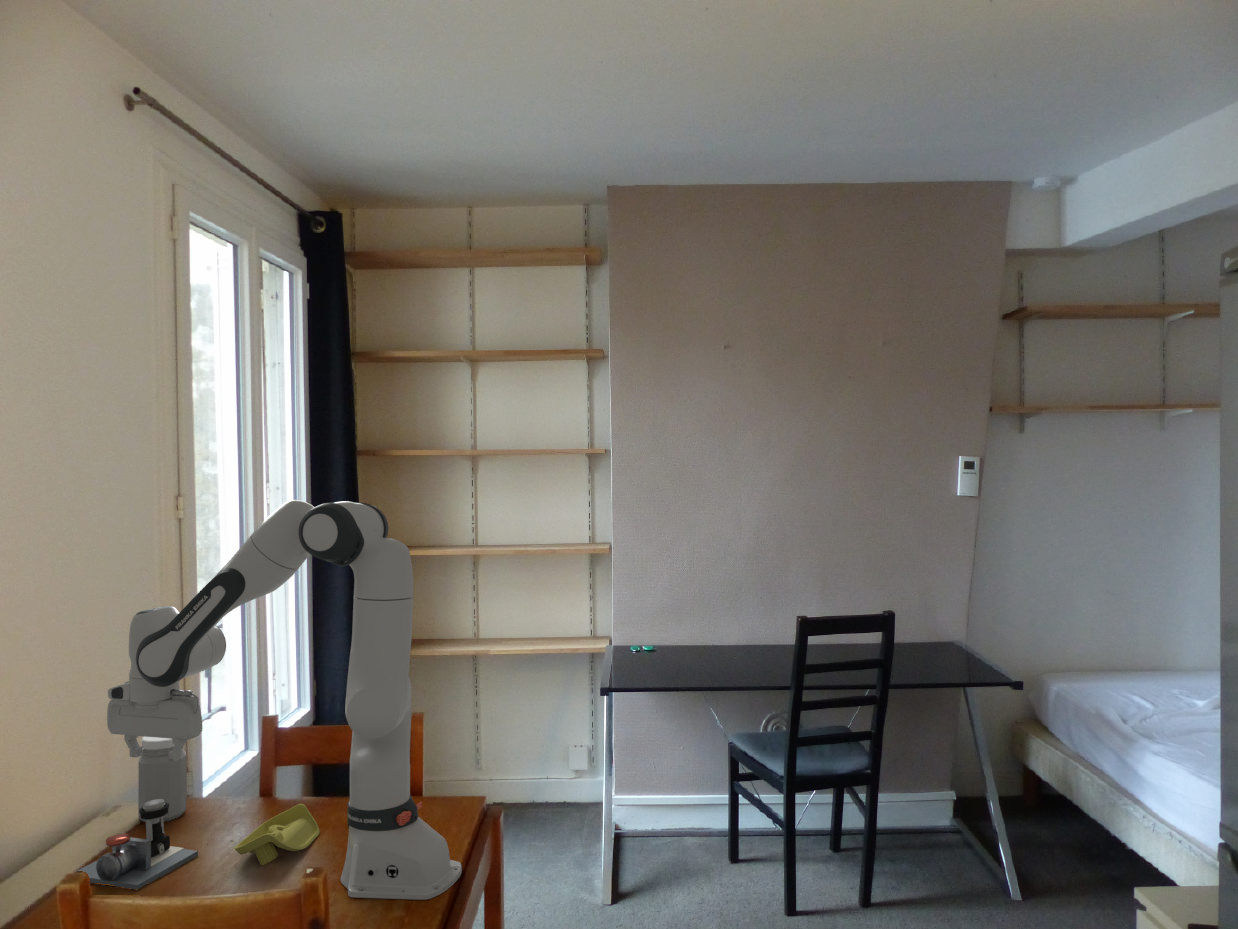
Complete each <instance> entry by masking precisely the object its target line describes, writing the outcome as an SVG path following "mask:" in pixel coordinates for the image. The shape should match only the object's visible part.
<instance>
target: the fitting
mask: <svg viewBox="0 0 1238 929" xmlns="http://www.w3.org/2000/svg"><path fill="white" fill-rule="evenodd" d="M105 846H108V847H112V848H111V850H112V851H111V852H107V853H104V854H103V855H101V856H99V858H98V859H97V860H98V861H97V860H96V861H97V864H96V870H97V874H98V876H99V877H100V878H101V879H102V880H107V881H108V882H111V881H113V880H115V879H117V878H118V877H119V876H120V875H121V874H123V873H125V872H127V871H128V870H130V869H135V870H142V871H147V870H149V869H151V840H147V838H146V839H145V838H138V837H132V836H131V834H129V833H117V834H112V835H111V836H109V837H107V838H106V839H105Z"/></svg>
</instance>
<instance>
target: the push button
mask: <svg viewBox="0 0 1238 929" xmlns="http://www.w3.org/2000/svg"><path fill="white" fill-rule="evenodd" d="M168 808H169V803H164V800H163V799H156V800H151V801H148V802H146V803H144V807H142V808H140V809H139V813H140V817H141V819H145V821H146V822H145V829H146V830H145V831H146V833H145V834H146V839H147V840H151V858H152V857H154V856H155V855H157V854H159V853H162V852H164V850H168V849H169V848H170V846H171V842H170V841H171V839H170V838H171V837H170V836H171V835H165V833H166V832H165V828H164V827H165V824H164V823H165V822H163V817H164V816H165V815H166V814H167V813H168ZM141 819H140V820H141Z"/></svg>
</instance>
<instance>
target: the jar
mask: <svg viewBox="0 0 1238 929" xmlns="http://www.w3.org/2000/svg"><path fill="white" fill-rule="evenodd" d="M174 745H175V744H173V743H172V739H171V738H158V737H145V736H142V737H141V746H142V752H143V753H142V755H141V756H139V757H138V790H137V791H138V799H137V802H138V804H137V805H138V808H137V810H138V818H139V819H140V820H141V822H143V823H146V821H145V819H141V817H140V813H139V809H140V808H142V807H144V803H146V802H148V801H151V800H156V799H163V800H164V803H169V808H168V813H167V814H166V815H165V816H164V817H163V822H164V823H166V822H165V821H167V822H170V821H173V820H175V818H176V819H178V818H179V817H181V816H182V815H183V814H184V813H185V811H186V810H187V752H186V751H185V750H184V747H183V748H182V750H181V758H180V759H179V760H177V761H170V760H169V759H168V757H169V756H168V752H170V751H172V750H173V748H174ZM172 819H173V820H172Z"/></svg>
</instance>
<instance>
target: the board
mask: <svg viewBox="0 0 1238 929" xmlns="http://www.w3.org/2000/svg"><path fill="white" fill-rule="evenodd" d="M196 856H197V857H198V856H199V850H196V849H195V850H194V849H187V848H184V847H181V846H171V845H170V848H169V849H168V850H164V852H162V853H159V854H157V855H155V856H154V857H152V858H151V869H149V870H147V871H142V870H135V869H130V870H128V871H127V872H125V873H123V874H121V875H120V876H119V877H118V878H117V879H115V880H113V881H111V882H108V881H107V880H102V879H101V878H100V877H99V876H98V874H97V870H96V864H97V861H98V859H97V860H95V861H92V863H89V864H87V865H86V866H82V867H81V868H79V869H77V870H75V871H74V872H76V871H83V872H86V873H87V874H88V876H89V878H90V882H91V883H90V884H91V885H93V884H92V883H100V884H101V883H102V884H110V885H114V886H118V887H124V888H131V889H139V888H141V887H142V886H144V885H146V884H147V883H150V884H151V883H153V882H155V881H157V880H158V879H160V878H162V877H164V876H165V875H167V874H169V873H171V872H172V871H174V870H176V869H177V868H180V867H181V866H183V865H184V864H186V863H188V862H189V861H192V860H193V859H195V858H197V857H196ZM191 859H192V860H191ZM159 877H160V878H159ZM157 878H158V879H157ZM156 879H157V880H156ZM154 880H155V881H154ZM152 881H153V882H152ZM146 886H147V885H146ZM118 887H117V888H118ZM144 887H145V886H144ZM124 888H123V889H124ZM131 889H130V890H131ZM141 889H142V888H141ZM139 890H140V889H139Z"/></svg>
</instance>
